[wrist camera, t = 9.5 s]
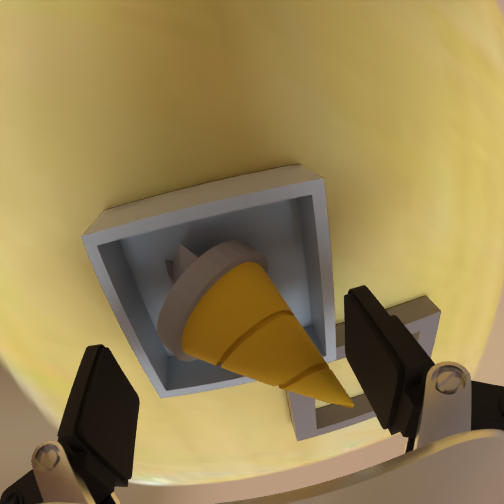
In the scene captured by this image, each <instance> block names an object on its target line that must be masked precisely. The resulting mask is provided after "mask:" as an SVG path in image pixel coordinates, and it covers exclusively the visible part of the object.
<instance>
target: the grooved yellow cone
mask: <svg viewBox="0 0 504 504" xmlns="http://www.w3.org/2000/svg"><path fill="white" fill-rule="evenodd" d="M165 263H166V267H167V271H168V275H169V277H170V279H171V281H172V282H173V284H174V286H173V287H172V288H171V290H170V292H169V294H168V296H167V297H166V299H165V301H164V303H163V306H162V308H161V311H160V313H159V318H158V322H157V334H158V337H159V340H160V341H161V342H162V343H163V344H164V345H165V346H166V347H167V348H168V349H169V350H170V351H171V352H172V353H173V354H174V355H175V356H176V357H177V358H178V359H179V360H181V361H193V360H197V359H200V360H203V361H205V362H208V363H211V364H213V365H216V366H218V365H220V364H221V363H222V366H221V368H224V369H226V370H229V371H232V372H234V373H237V374H240V375H243V376H245V377H248V378H251V379H254V380H257V381H260V382H263V383H266V384H269V385H272V386H277V385H279V388H281V389H284V390H287V391H290V392H294V393H297V394H300V395H304V396H307V397H310V398H314V399H317V400H321V401H324V402H328V403H332V404H336V405H342V406H344V407H347V408H353V407H354V403H353V402H352V400H351V399H350V397H349V396H348V394H347V393H346V391H345V390H344V388H343V387H342V385H341V384H340V382H339V381H338V379H337V378H336V376H335V375H334V373H333V372H332V370H330V369H329V366H328V364H327V363H326V361H325V360H324V358H323V357H322V355H321V354H320V352H319V351H318V349H317V348H316V347H315V345H314V344H313V342H312V341H311V339H310V338H309V336H308V335H307V333H306V332H305V330H304V329H303V327H302V326H301V324H300V323H299V321H298V320H297V318H296V317H295V316H294V314H293V312H292V311H291V309H290V308H289V306H288V305H287V303H286V302H285V300H284V299H283V297H282V296H281V294H280V293H279V291H278V290H277V288H276V287H275V285H274V284H273V282H272V281H271V279H270V278H269V276H268V275H267V273H268V262H267V258H266V257H265V256H264V255H263V254H262V253H261V252H259V251H258V250H256V249H255V248H253V247H252V246H250V245H249V244H247V243H246V242H244V241H241V240H229V241H225V242H222V243H220V244H218V245H216V246H214V247H212V248H211V249H210V250H208V251H207V252H205V253H204V254H202V255H201V256H200V255H198V254H197V253H195V252H194V251H192V250H191V249H189V248H187V247H186V246H184V245H182V244H181V243H180V244H179V247H178V250H177V253H176V257H175V260H174V262H171V261H167V260H165Z"/></svg>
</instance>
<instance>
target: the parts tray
mask: <svg viewBox="0 0 504 504" xmlns="http://www.w3.org/2000/svg"><path fill="white" fill-rule="evenodd" d="M81 238H82V241H83V243H84V246H85V249H86V251H87V254H88V256H89V259H90V261H91V263H92V266H93V268H94V271H95V273H96V275H97V278H98V280H99V282H100V284H101V287H102V289H103V291H104V293H105V295H106V298H107V300H108V302H109V304H110V306H111V308H112V310H113V312H114V315H115V317H116V319H117V321H118V323H119V325H120V327H121V329H122V331H123V333H124V335H125V336H126V338H127V340H128V342H129V344H130V346H131V348H132V350H133V352H134V353H135V355H136V357H137V359H138V361H139V362H140V364H141V366H142V368H143V370H144V371H145V373H146V375H147V377H148V378H149V380H150V382H151V383H152V385H153V387H154V388H155V390H156V392H157V393H158V395H159V397H160V398H167V397H174V396H180V395H187V394H193V393H199V392H205V391H210V390H216V389H221V388H226V387H231V386H236V385H241V384H246V383H250V382H255V381H257V380H254V379H251V378H248V377H245V376H243V375H240V374H237V373H234V372H232V371H229V370H226V369H224V368H221V366H222V363H221V364H220V365H218V366H216V365H213V364H211V363H208V362H205V361H203V360H200V359H197V360H193V361H181V360H179V359H178V358H177V357H176V356H175V355H174V354H173V353H172V352H171V351H170V350H169V349H168V348H167V347H166V346H165V345H164V344H163V343H162V342H161V341H160V340H159V337H158V334H157V322H158V318H159V313H160V311H161V308H162V306H163V303H164V301H165V299H166V297H167V296H168V294H169V292H170V290H171V288H172V287H173V286H174V284H173V282H172V281H171V279H170V277H169V275H168V271H167V267H166V263H165V260H167V261H171V262H174V260H175V257H176V253H177V250H178V247H179V244H180V243H181V244H182V245H184V246H186V247H187V248H189V249H191V250H192V251H194V252H195V253H197V254H198V255H200V256H201V255H202V254H204V253H205V252H207V251H208V250H210V249H211V248H212V247H214V246H216V245H218V244H220V243H222V242H225V241H229V240H241V241H244V242H246V243H247V244H249V245H250V246H252V247H253V248H255V249H256V250H258V251H259V252H261V253H262V254H263V255H264V256H265V257H266V258H267V262H268V273H267V275H268V276H269V278H270V279H271V281H272V282H273V284H274V285H275V287H276V288H277V290H278V291H279V293H280V294H281V296H282V297H283V299H284V300H285V302H286V303H287V305H288V306H289V308H290V309H291V311H292V312H293V314H294V316H295V317H296V318H297V320H298V321H299V323H300V324H301V326H302V327H303V329H304V330H305V332H306V333H307V335H308V336H309V338H310V339H311V341H312V342H313V344H314V345H315V347H316V348H317V349H318V351H319V352H320V354H321V355H322V357H323V358H324V360H325V361H326V363H328V362H331V361H335V360H336V330H335V306H334V288H333V272H332V258H331V246H330V234H329V223H328V213H327V204H326V194H325V186H324V178H322V177H321V176H319V175H317V174H316V173H314V172H312V171H311V170H309V169H307V168H306V167H304V166H302V165H301V164H295V165H290V166H284V167H279V168H274V169H269V170H264V171H259V172H254V173H250V174H245V175H240V176H236V177H231V178H227V179H222V180H218V181H214V182H209V183H205V184H201V185H197V186H193V187H189V188H185V189H181V190H177V191H173V192H169V193H165V194H161V195H157V196H154V197H150V198H146V199H143V200H139V201H136V202H132V203H128V204H125V205H122V206H118V207H115V208H111V209H108V210H105V211H103V212H102V213H101V214H100V216H99V217H98V218H97V219H96V220H95V221H94V222H93V223H92V224H91V226H90V227H89V228H88V229H87V230H86V231H85V232H84V234H83V235H82V236H81Z"/></svg>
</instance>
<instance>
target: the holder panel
mask: <svg viewBox="0 0 504 504" xmlns="http://www.w3.org/2000/svg"><path fill="white" fill-rule="evenodd" d="M386 311H387V312H388V314H389V315H390V316H391V315H396V316H397V317H398V318H399V319H400V320H401V322H402V323H403V324H404V325H405V326H406V328H407V329H408V330H409V331H410V333H411V334H412V335H413V337H414V338H415V339H416V340H417V342H418V343H419V344H420V345H421V347H422V348H423V349H424V351H425V352H426V353H427V354H428V356H429V357H430V358H431V354H432V350H433V346H434V342H435V338H436V333H437V329H438V324H439V319H440V314H441V310H440V309H439V308H438V307H437V306H436V305H435V304H434V303H433V302H432V301H431V300H430V299H429V298H428V297H427V296H423V297H421V298H418V299H415V300H412V301H409V302H406V303H404V304H401V305H398V306H395V307H392V308H389V309H386ZM335 330H336V360H339V359H342V358H345V357H346V354H345V322H344V323H341V324H337V325H335ZM331 362H332V361H331ZM328 363H329V362H328ZM286 393H287V398H288V404H289V409H290V414H291V420H292V424H293V428H294V431H295V435H296V438H297V441H300V440H304V439H308V438H312V437H315V436H319V435H322V434H325V433H329V432H332V431H335V430H338V429H341V428H344V427H348V426H350V425H353V424H356V423H359V422H362V421H365V420H368V419H370V418H373V417H376V414H375V412H374V410H373V408H372V406H371V405H370V403H369V401H368V399H367V397H366V395H365V394H363V395H360V396H357V397H354V398H351V400H352V402H353V403H354V407H353V408H347V407H344V406H342V405H336V404H332V405H329V406H326V407H322V408H319V409H316V410H315V399H314V398H310V397H307V396H304V395H300V394H297V393H294V392H290V391H287V390H286Z"/></svg>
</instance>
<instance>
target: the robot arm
mask: <svg viewBox="0 0 504 504" xmlns="http://www.w3.org/2000/svg"><path fill="white" fill-rule="evenodd" d="M344 314H345V354H346V358H347V360H348V362H349V364H350V366H351V368H352V370H353V372H354V374H355V375H356V377H357V379H358V381H359V383H360V385H361V387H362V389H363V391H364V393H365V395H366V397H367V399H368V401H369V403H370V405H371V406H372V408H373V410H374V412H375V414H376V416H377V418H378V420H379V422H380V424H381V426H382V428H383V429H387V428H388V429H389V431H390V433H391V435H393V434H396V433H398V432H401V434H402V436H403V437H407V440H406V444H405V449H404V453H403V455H401V456H399V457H396V458H393V459H391V460H388V461H386V462H383V463H381V464H378V465H375V466H373V467H370V468H367V469H364V470H361V471H358V472H355V473H352V474H350V475H346V476H343V477H340V478H337V479H334V480H331V481H327V482H324V483H320V484H316V485H313V486H309V487H305V488H301V489H297V490H293V491H289V492H284V493H279V494H274V495H270V496H264V497H259V498H253V499H247V500H240V501H234V502H226V503H218V504H504V387H503V386H498V385H492V384H486V383H482V382H476V381H471V377H470V374H469V372H468V371H467V369H466V368H465V367H463V366H462V365H460V364H458V363H456V362H450V361H447V362H441V363H438V364H436V365H435V364H434V362H433V361H432V360H431V358H430V357H429V356H428V354H427V353H426V352H425V351H424V349H423V348H422V347H421V345H420V344H419V343H418V342H417V340H416V339H415V338H414V337H413V335H412V334H411V333H410V331H409V330H408V329H407V328H406V326H405V325H404V324H403V323H402V322H401V320H400V319H399V318H398V317H397V316H396V315H391V316H390V315H389V314H388V312H387V311H386V310H385V309H384V307H383V306H382V305H381V304H380V302H379V301H378V300H377V299H376V297H375V296H374V295H373V294H372V293H371V291H370V290H369V289H368V288H367V287H366V286H365V285H363V286H360V287H356V288H353V289H350V290H349V292H348V294H347V295H345V296H344ZM139 404H140V402H139V397H138V395H137V393H136V392H135V390H134V388H133V387H132V385H131V384H130V382H129V381H128V379H127V377H126V376H125V374H124V373H123V371H122V369H121V368H120V366H119V364H118V363H117V361H116V359H115V358H114V356H113V354H112V353H111V351H110V349H109V348H107V347H106V348H105V347H104V345H102V344H99V345H93V346H88V347H87V348H86V350H85V353H84V355H83V358H82V361H81V363H80V366H79V369H78V372H77V375H76V378H75V380H74V383H73V386H72V389H71V392H70V395H69V398H68V402H67V405H66V408H65V411H64V414H63V418H62V421H61V424H60V428H59V431H58V437H59V438H58V441H52V440H51V441H46V442H43V443H41V444H40V445H39V446H37V448H36V449H35V450H34V452H33V455H32V459H31V463H32V468H33V469H32V470H31V471H29V472H28V473H27V474H25V475H24V476H23V477H22V478H20V479H19V480H18V481H16V482H15V483H14V484H13V485H11V486H10V487H8V488H7V489H6V490H5V491H4V492H3V494H2V496H1V499H0V504H121V503H120V502H119V500H118V498H117V497H116V495H115V494H114V487H115V486H119V487H127V486H128V479H131V477H132V469H133V458H134V447H135V438H136V429H137V420H138V412H139Z"/></svg>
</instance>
